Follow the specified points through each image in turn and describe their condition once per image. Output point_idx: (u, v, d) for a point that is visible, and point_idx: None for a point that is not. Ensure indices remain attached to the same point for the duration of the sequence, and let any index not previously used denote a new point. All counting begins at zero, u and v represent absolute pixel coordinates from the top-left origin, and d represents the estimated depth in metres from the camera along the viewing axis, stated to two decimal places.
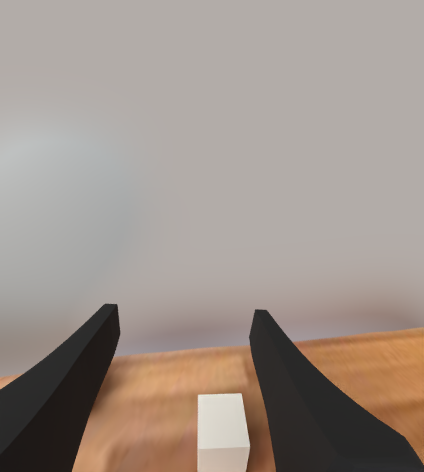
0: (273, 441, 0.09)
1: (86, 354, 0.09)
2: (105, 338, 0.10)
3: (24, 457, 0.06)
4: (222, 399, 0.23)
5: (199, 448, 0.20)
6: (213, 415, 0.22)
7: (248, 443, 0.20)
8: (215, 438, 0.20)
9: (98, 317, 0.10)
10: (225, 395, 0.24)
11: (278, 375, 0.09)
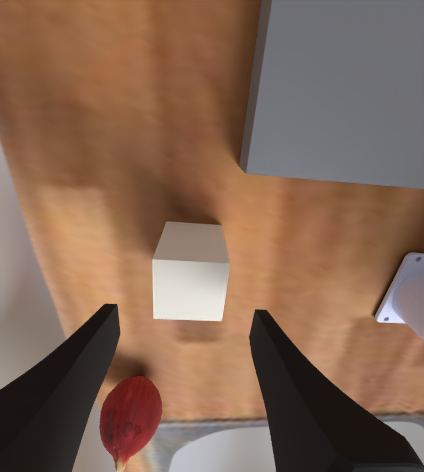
0: (273, 441, 0.09)
1: (86, 354, 0.09)
2: (105, 338, 0.10)
3: (24, 457, 0.06)
4: (161, 288, 0.14)
5: (221, 319, 0.15)
6: (184, 302, 0.15)
7: (226, 264, 0.14)
8: (213, 302, 0.15)
9: (98, 317, 0.10)
10: (155, 283, 0.14)
11: (278, 375, 0.09)
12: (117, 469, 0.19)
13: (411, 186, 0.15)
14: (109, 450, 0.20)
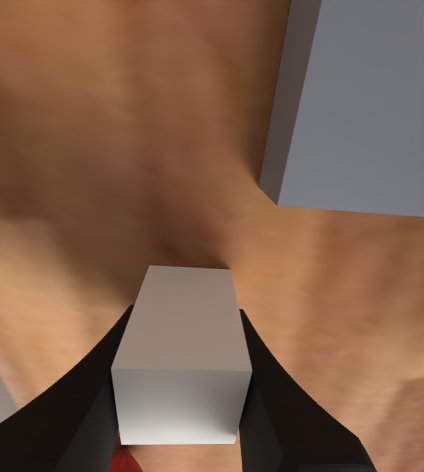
0: (241, 441, 0.09)
1: None
2: None
3: (78, 456, 0.06)
4: (132, 407, 0.08)
5: (233, 441, 0.09)
6: (171, 423, 0.09)
7: (244, 372, 0.08)
8: (222, 421, 0.09)
9: (127, 318, 0.10)
10: (120, 401, 0.08)
11: None
12: None
13: None
14: None
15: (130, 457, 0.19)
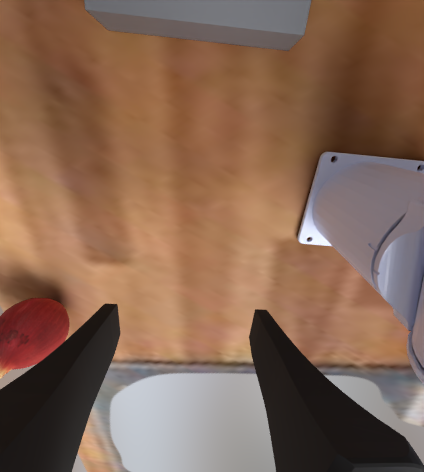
0: (273, 441, 0.09)
1: (86, 354, 0.09)
2: (105, 338, 0.10)
3: (24, 457, 0.06)
4: None
5: None
6: None
7: None
8: None
9: (98, 317, 0.10)
10: None
11: (278, 375, 0.09)
12: None
13: (286, 31, 0.13)
14: None
15: (58, 302, 0.24)
